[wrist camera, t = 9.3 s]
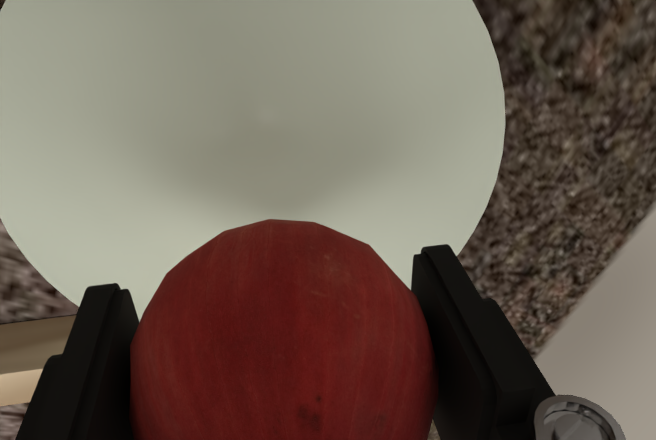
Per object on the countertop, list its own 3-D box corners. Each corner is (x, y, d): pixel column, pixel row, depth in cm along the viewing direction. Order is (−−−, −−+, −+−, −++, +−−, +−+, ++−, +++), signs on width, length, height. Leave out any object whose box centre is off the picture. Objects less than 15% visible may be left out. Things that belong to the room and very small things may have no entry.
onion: (428, 216, 13) (622, 544, 7) (310, 363, 16) (370, 717, 9) (221, 110, 11) (205, 449, 4) (117, 299, 13) (4, 713, 7)
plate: (-122, -113, 12) (-148, -113, 11) (531, -136, 14) (551, -137, 13) (78, 363, 21) (72, 383, 20) (464, 311, 23) (473, 327, 22)
